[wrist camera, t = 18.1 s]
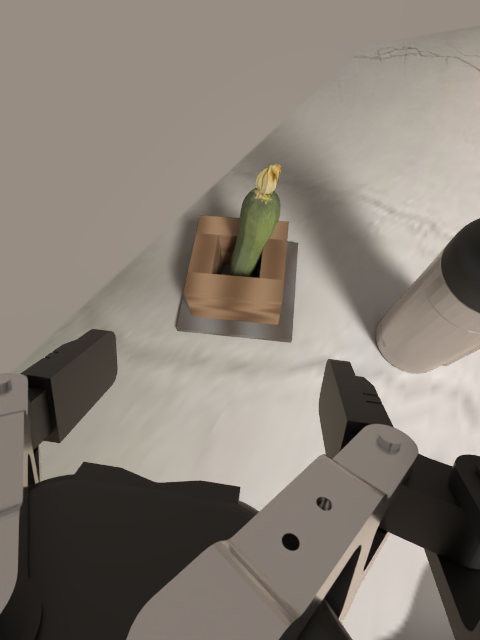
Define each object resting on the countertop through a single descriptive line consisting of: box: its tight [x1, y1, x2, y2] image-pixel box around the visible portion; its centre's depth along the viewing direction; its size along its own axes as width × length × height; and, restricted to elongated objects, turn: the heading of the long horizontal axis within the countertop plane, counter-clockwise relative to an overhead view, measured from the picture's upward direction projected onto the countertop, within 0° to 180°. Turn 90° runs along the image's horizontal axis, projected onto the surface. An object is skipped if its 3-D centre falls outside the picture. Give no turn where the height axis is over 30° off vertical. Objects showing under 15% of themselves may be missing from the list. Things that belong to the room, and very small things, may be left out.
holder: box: [176, 215, 298, 342], centre depth 46 cm, size 16×16×8 cm
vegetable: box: [229, 164, 282, 277], centre depth 40 cm, size 4×4×20 cm
